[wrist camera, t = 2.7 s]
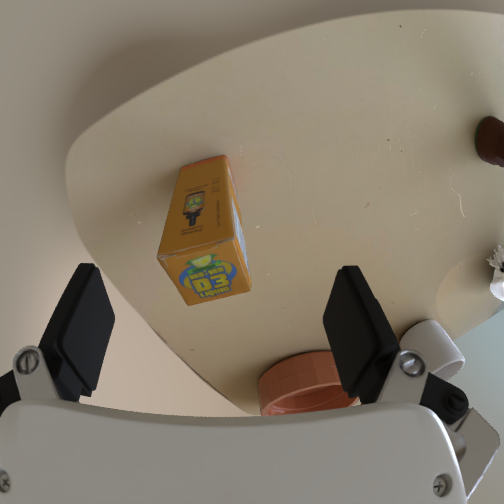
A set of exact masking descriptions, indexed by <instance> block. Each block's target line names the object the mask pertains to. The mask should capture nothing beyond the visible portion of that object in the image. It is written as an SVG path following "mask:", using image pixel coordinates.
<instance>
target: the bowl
mask: <svg viewBox="0 0 504 504" xmlns="http://www.w3.org/2000/svg"><path fill="white" fill-rule="evenodd" d="M257 388H258V396H259V404H260V412H261V416H272V415H286V414H297V413H306V412H315V411H323V410H331V409H338V408H345V407H351V406H352V405H354V404H355V403H356V402H357V401H358V400H359V397H355V398H350V399H349V397H348V394H347V392H344V391H343V389H342V385H341V382H340V378H339V375H338V371H337V368H336V364H335V361H334V357H333V354H332V352H331V351H316V352H309V353H304V354H300V355H296V356H293V357H290V358H288V359H285V360H283V361H281V362H279V363H278V364H276V365H274V366H273V367H271V368H270V369H269V370H268V371H266V372H265V373H264V375H263V376H262V377H261V378H260V379H259V382H258V387H257Z"/></svg>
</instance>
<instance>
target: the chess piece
mask: <svg viewBox="0 0 504 504" xmlns="http://www.w3.org/2000/svg"><path fill="white" fill-rule="evenodd" d="M475 145H476V150H477V153H478V155H479V156H480V158H481V159H482V160H484V161H486V162H488V163H490V164H492V165H499V166H500V167H504V123H503V122H502V121H500V120H498V119H497V118H495V117H491V116H489V117H487V118H485V119H483V120H482V121H481V123H480V124H479V126H478V128H477V132H476V137H475Z"/></svg>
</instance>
